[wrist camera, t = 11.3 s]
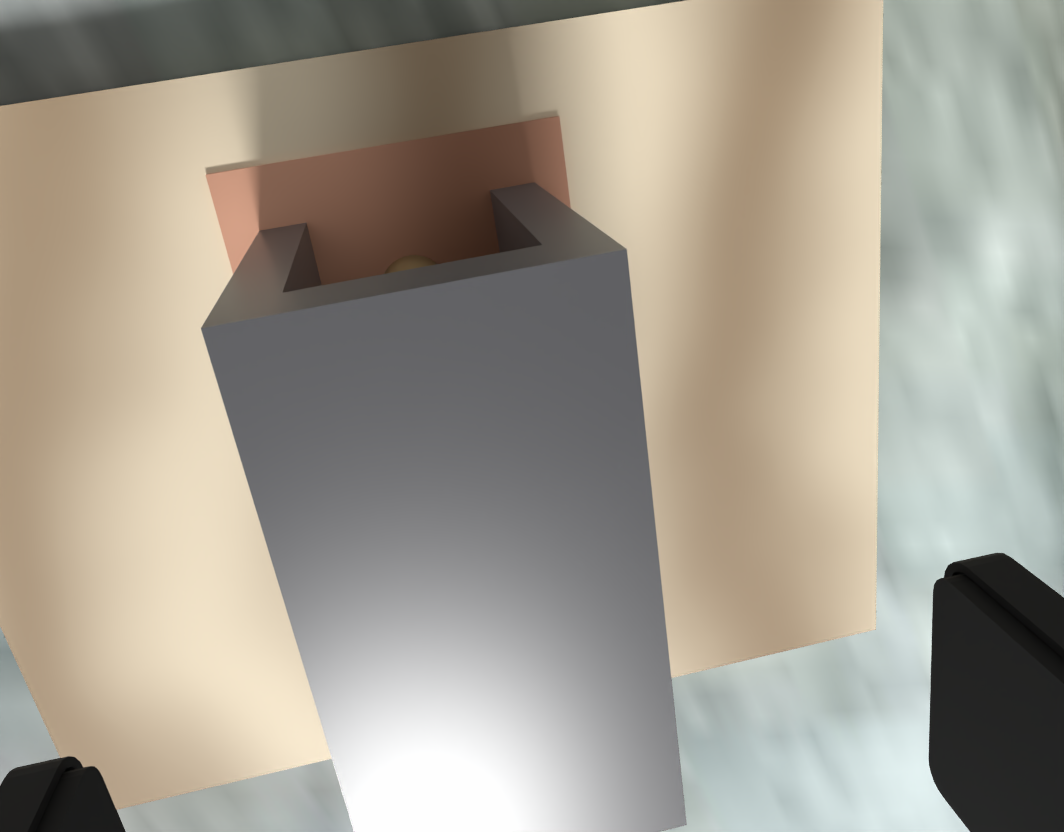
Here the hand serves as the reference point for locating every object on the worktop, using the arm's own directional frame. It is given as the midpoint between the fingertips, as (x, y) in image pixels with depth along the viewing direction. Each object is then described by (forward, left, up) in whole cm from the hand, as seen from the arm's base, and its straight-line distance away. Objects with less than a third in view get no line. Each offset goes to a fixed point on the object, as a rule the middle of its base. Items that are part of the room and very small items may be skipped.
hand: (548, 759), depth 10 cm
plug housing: (0, 0, -8) cm, 8 cm away
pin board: (0, 0, -10) cm, 10 cm away
